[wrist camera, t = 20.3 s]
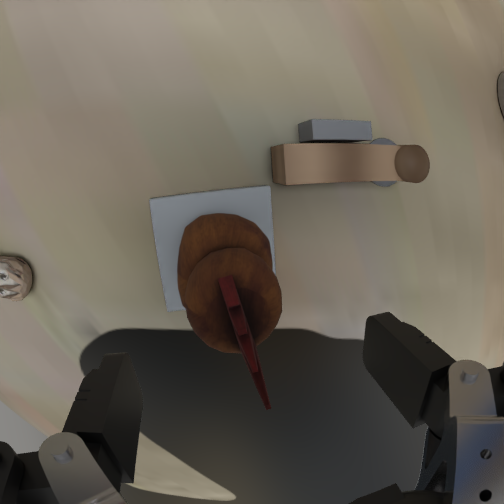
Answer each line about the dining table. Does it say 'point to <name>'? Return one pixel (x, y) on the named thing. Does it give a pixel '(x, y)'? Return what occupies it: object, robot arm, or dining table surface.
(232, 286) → the wooden figurine
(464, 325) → the dining table surface
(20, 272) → the figurine
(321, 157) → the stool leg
